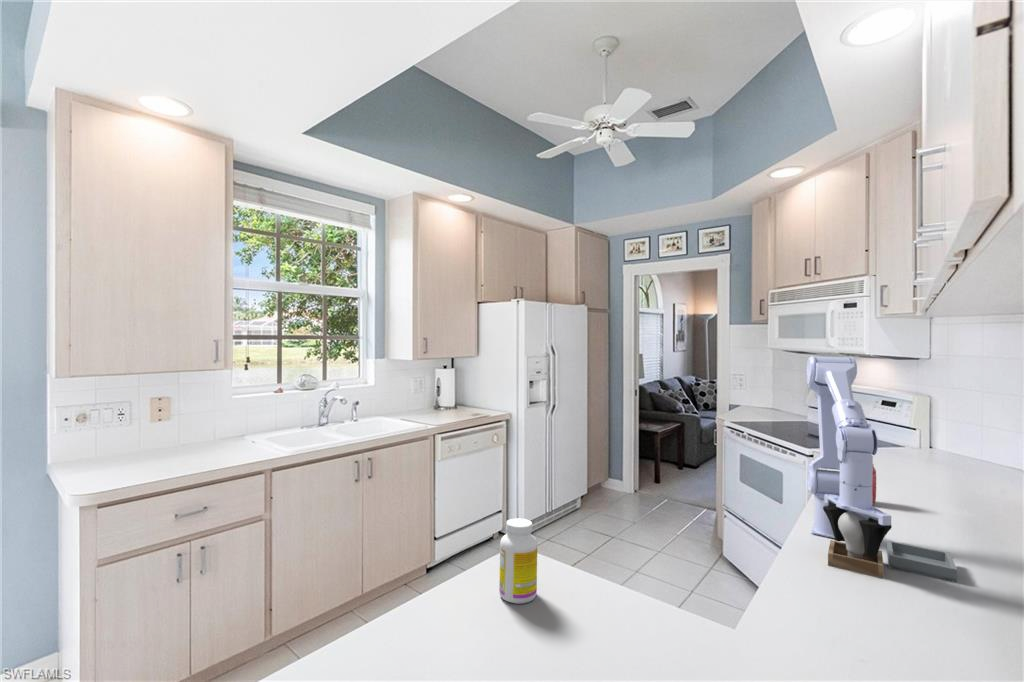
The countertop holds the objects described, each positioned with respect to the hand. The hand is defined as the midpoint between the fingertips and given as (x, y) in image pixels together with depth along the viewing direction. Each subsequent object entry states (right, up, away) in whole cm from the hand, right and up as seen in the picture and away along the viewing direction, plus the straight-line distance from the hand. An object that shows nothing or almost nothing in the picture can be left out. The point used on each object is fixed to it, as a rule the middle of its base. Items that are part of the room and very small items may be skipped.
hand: (855, 547), depth 101 cm
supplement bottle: (-72, -1, -17) cm, 74 cm away
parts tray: (+14, -4, 0) cm, 14 cm away
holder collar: (0, -3, 0) cm, 3 cm away
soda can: (+34, -6, +44) cm, 56 cm away
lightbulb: (0, -4, 0) cm, 4 cm away
